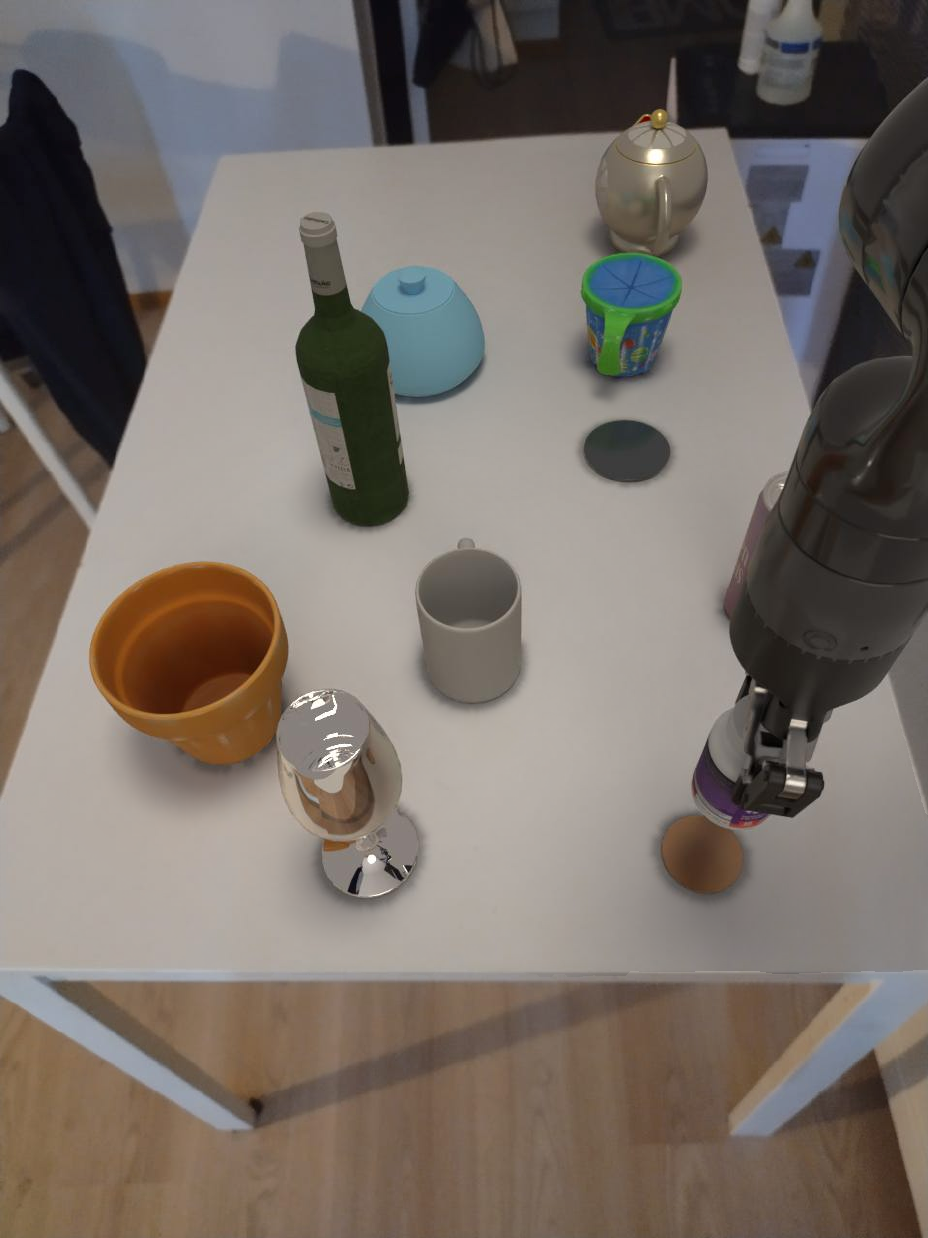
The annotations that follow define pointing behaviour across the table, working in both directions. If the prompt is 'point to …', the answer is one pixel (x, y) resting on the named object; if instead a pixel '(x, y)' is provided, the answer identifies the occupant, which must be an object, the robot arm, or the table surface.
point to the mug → (470, 622)
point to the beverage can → (753, 536)
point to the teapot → (650, 185)
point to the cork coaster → (702, 854)
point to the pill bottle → (725, 771)
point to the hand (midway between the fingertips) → (750, 755)
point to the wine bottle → (349, 389)
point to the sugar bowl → (426, 330)
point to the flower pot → (195, 660)
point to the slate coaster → (626, 451)
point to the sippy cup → (628, 310)
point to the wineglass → (346, 791)
